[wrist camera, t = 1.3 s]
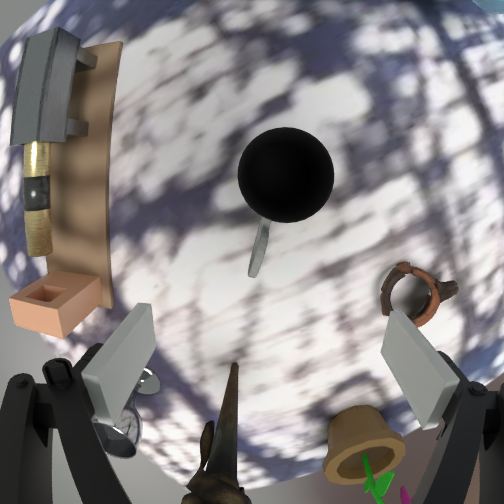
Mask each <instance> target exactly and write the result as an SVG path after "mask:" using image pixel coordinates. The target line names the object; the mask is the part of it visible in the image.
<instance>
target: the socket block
mask: <svg viewBox="0 0 504 504" xmlns="http://www.w3.org/2000/svg"><path fill="white" fill-rule="evenodd" d="M9 301H10V305H11V310H12V314H13V318H14V322H15V325H17V326H20V327H23V328H27V329H30V330H33V331H37V332H40V333H44V334H47V335H51V336H54V337H58V338H62V339H64V338H65V337H66V336H67V335H68V334H69V333H70V332H71V331H72V330H73V329H74V328H75V327H76V326H77V325H78V324H79V323H80V322H81V321H82V320H83V319H84V318H86V317H87V316H88V315H89V314H90V313H91V312H92V311H93V310H94V309H95V308H96V307H97V306H98V305H99V304H100V303H101V302H102V301H103V300H102V292H101V282H100V276H93V275H85V274H78V273H71V272H63V271H57V270H53V271H52V272H50V273H48V274H47V275H45V276H43V277H42V278H40V279H38V280H37V281H35V282H33V283H32V284H30V285H29V286H27V287H25V288H24V289H22V290H21V291H19V292H17V293H16V294H14V295H13V296H11V297H9Z"/></svg>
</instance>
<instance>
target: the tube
mask: <svg viewBox="0 0 504 504" xmlns="http://www.w3.org/2000/svg"><path fill="white" fill-rule="evenodd" d="M50 160H51V142H42V141H39V142H32V143H25V147H24V177H23V200H24V214H25V229H26V241H27V250H28V255H29V256H32V257H39V256H45V255H49V254H51V253H52V252H53V242H52V229H51V209H50V208H51V194H50Z"/></svg>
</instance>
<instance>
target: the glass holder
mask: <svg viewBox="0 0 504 504" xmlns="http://www.w3.org/2000/svg"><path fill="white" fill-rule="evenodd" d="M238 182H239V187H240V190H241V193H242V195H243V197H244V199H245V201H246V202H247V203H248V205H249V206H250V207H251V208H252V209H253V210H254V211H255V212H256V213H258V214H259V215H261V216H262V217H261V221H260V225H259V228H258V232H257V236H256V239H255V243H254V247H253V251H252V255H251V259H250V264H249V269H248V276H249V277H252V278H255V277H256V276H257V274H258V272H259V269H260V267H261V264H262V261H263V257H264V254H265V250H266V247H267V242H268V237H269V227H270V223H271V221H275V222H280V223H292V222H298V221H301V220H305V219H307V218H309V217H311V216H312V215H314V214H315V213H316V212H318V211H319V210H320V209H321V208H322V207H323V206H324V204H325V203H326V201H327V200H328V198H329V196H330V194H331V192H332V188H333V184H334V167H333V163H332V160H331V157H330V155H329V153H328V151H327V150H326V148H325V147H324V146H323V144H322V143H321V142H320V141H319V140H318V139H317V138H315V137H314V136H312V135H311V134H309V133H307V132H305V131H303V130H300V129H296V128H289V127H282V128H275V129H271V130H268V131H266V132H264V133H262V134H260V135H259V136H257V137H256V138H255V139H253V140H252V141H251V142H250V144H249V145H248V146H247V147H246V149H245V150H244V152H243V154H242V156H241V159H240V162H239V166H238Z"/></svg>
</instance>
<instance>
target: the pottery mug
mask: <svg viewBox="0 0 504 504" xmlns="http://www.w3.org/2000/svg"><path fill="white" fill-rule="evenodd" d="M408 273H412V274H413V275H414V276H418V277H420V278H422V279H423V280H424V281H425V282H426V283H427V284H428V286H429V289H430V292H431V296H430V295H427V300H426V303H425V305H424V307H423V308H422V310H421V311H420V312H419V313H418V314H416V315H414V316H411V317H408V318H409V319H410V320H411V321H412V323H413V324H414V325H415V326H416V327H417V328H418V327H420V326H422V325H424V324H426V323H427V322H428V321H429V320H430V319H431V318H432V317H433V316H434V314H435V313H436V311H437V309H438V307H439V305H440V303H441V302H443V301H444V300H447V299H449V298H451V297H452V296H453V295H456V294H457V293H458V290H459V288H458V284H457V283H456V282H455V281H447V282H440V281H439V280H438V279H436V280H435V279H433V278H432V277H431V276H430V275H429V274H428V273H427V272H425V271H423V270H422V269H420V268H417V267H413V266H410V262H404V263H400V264H398V265H397V267H395V268H393V269H392V271H391V272H390V273H389V275H388V276H387V278H386V279H385V281H384V283H383V286H382V288H381V291H382V294H381V296H380V297H381V305H382V314H383V315H385V316H389V315H390V311H394V310H393V309H392V306H391V302H390V296H391V291H392V289H393V287H394V285H395V284H396V283H397V282H398V281H399V280H400V279H401V278H403V277H405V274H408Z"/></svg>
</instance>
